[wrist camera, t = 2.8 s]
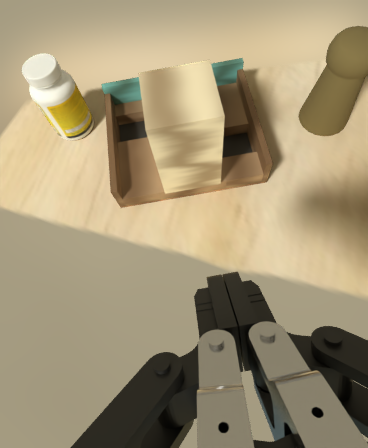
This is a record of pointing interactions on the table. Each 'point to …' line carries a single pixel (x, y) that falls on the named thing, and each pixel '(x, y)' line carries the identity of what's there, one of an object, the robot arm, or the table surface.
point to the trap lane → (142, 153)
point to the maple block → (184, 124)
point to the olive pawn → (337, 83)
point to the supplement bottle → (57, 97)
